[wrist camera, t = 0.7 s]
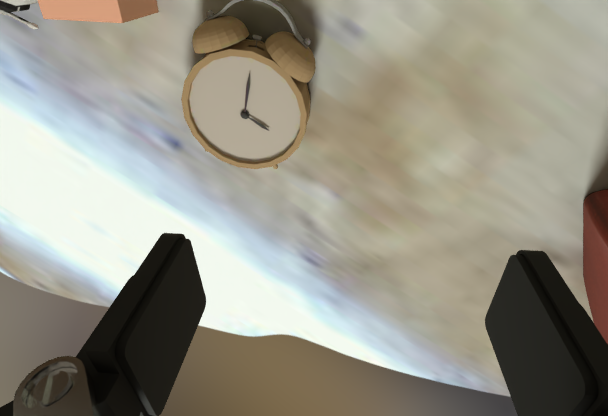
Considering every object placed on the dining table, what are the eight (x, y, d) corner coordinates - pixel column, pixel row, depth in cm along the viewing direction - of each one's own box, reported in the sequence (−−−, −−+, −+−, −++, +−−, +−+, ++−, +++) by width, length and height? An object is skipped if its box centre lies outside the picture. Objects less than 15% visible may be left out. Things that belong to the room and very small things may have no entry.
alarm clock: (181, 154, 35) (173, -15, 25) (199, 127, 39) (198, -32, 28) (292, 183, 36) (331, 30, 25) (299, 153, 39) (336, 7, 29)
